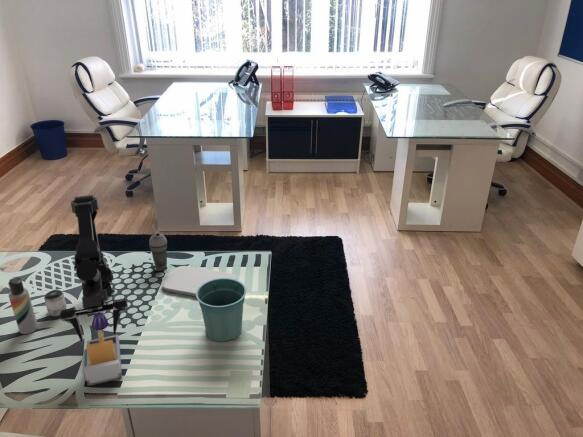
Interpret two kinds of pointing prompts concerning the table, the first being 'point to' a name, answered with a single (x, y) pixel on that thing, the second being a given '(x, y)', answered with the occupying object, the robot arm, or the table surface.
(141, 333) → the table surface
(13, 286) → the lotion bottle
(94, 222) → the robot arm
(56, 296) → the jar with dark lid
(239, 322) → the flower pot
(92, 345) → the block
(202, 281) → the tablet
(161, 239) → the beverage cup
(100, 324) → the toy lamp
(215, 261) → the table surface
